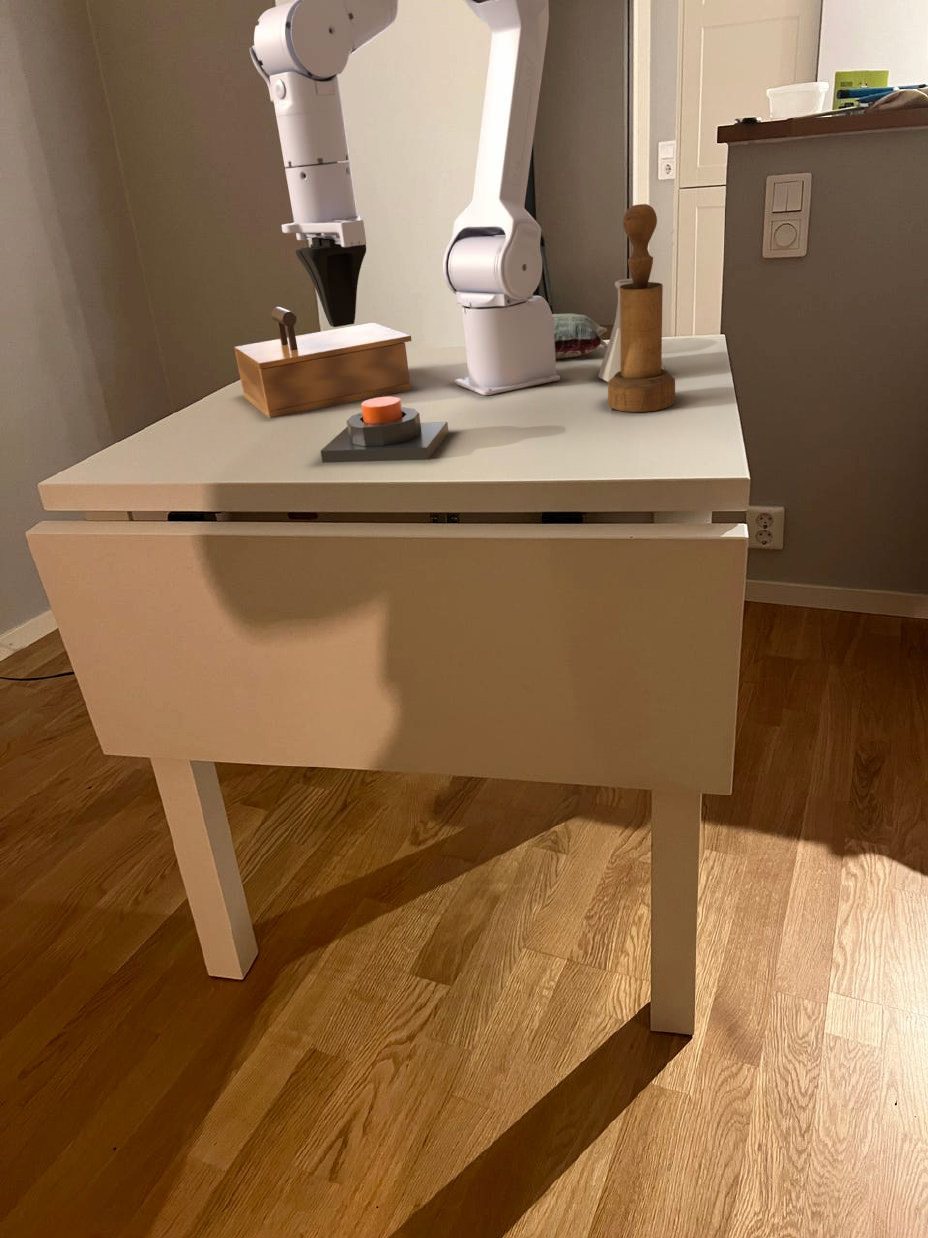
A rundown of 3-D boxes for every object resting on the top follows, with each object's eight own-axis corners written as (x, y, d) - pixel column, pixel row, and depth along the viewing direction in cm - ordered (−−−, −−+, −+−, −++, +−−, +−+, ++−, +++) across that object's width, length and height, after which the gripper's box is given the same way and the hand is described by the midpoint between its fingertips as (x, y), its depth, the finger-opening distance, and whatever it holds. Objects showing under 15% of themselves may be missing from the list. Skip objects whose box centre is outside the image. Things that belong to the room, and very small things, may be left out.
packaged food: (514, 350, 119) (512, 311, 116) (607, 344, 117) (607, 304, 114) (507, 367, 111) (504, 325, 109) (607, 361, 109) (606, 318, 107)
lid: (374, 327, 114) (368, 287, 111) (411, 340, 103) (406, 297, 101) (234, 351, 108) (226, 310, 106) (260, 368, 97) (251, 323, 95)
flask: (662, 366, 104) (662, 272, 99) (668, 382, 97) (669, 282, 93) (597, 371, 105) (594, 278, 100) (599, 387, 98) (596, 288, 94)
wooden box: (374, 372, 116) (368, 328, 113) (411, 389, 105) (405, 342, 103) (244, 397, 110) (235, 352, 108) (269, 418, 100) (260, 369, 97)
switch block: (448, 433, 88) (445, 402, 87) (428, 460, 81) (424, 427, 80) (350, 437, 90) (345, 406, 89) (322, 463, 83) (316, 431, 82)
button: (407, 414, 86) (404, 395, 85) (396, 425, 83) (394, 406, 82) (370, 415, 86) (367, 397, 86) (358, 426, 83) (355, 407, 83)
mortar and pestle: (675, 411, 87) (676, 204, 79) (606, 414, 89) (600, 211, 80) (675, 393, 93) (676, 198, 85) (610, 396, 94) (605, 204, 86)
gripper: (253, 171, 85) (281, 322, 91) (296, 167, 73) (325, 342, 80) (325, 163, 88) (348, 311, 94) (379, 158, 76) (400, 328, 82)
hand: (342, 324), depth 87 cm, fingers closed
